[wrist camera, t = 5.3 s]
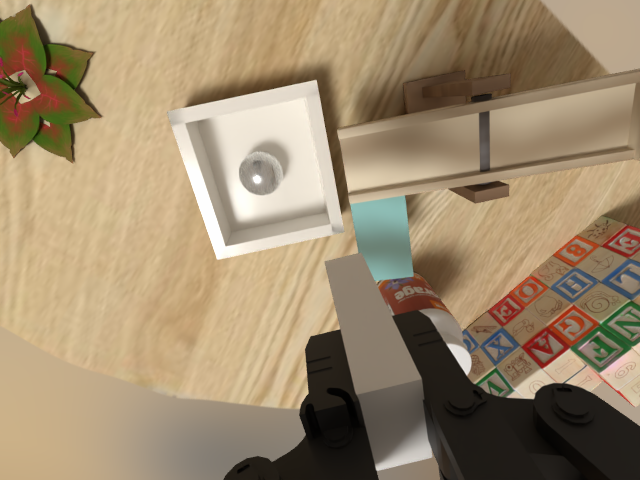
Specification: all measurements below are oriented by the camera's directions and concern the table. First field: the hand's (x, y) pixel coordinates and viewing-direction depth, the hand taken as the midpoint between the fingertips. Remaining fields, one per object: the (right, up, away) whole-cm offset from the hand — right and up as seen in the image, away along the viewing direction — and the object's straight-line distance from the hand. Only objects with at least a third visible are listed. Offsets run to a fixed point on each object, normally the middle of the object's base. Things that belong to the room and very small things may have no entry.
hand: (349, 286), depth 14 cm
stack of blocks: (+23, -5, +25) cm, 34 cm away
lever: (+11, +6, +11) cm, 17 cm away
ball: (-6, +7, +15) cm, 18 cm away
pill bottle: (+7, -4, +23) cm, 25 cm away
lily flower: (-24, +14, +13) cm, 31 cm away
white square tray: (-6, +8, +17) cm, 20 cm away
